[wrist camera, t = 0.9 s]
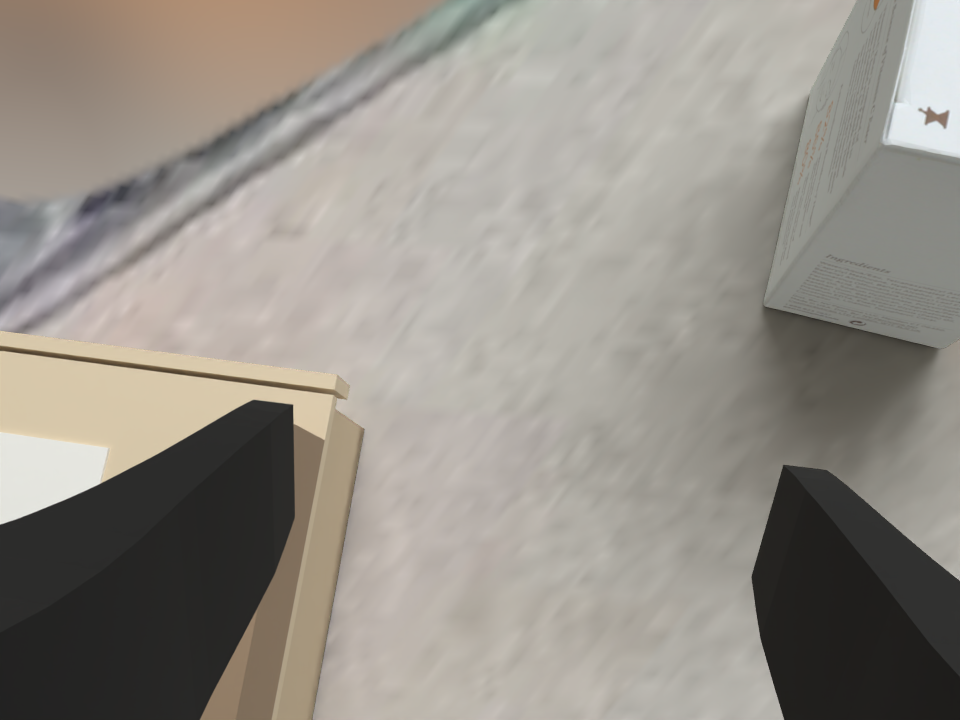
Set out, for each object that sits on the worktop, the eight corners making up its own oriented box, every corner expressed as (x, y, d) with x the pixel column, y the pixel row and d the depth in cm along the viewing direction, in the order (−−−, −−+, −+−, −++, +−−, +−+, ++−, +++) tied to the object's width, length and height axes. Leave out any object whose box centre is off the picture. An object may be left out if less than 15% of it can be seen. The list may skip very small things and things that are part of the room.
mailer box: (303, 768, 25) (255, 806, 21) (-131, 685, 26) (-250, 707, 22) (364, 429, 27) (331, 406, 23) (-40, 373, 28) (-134, 343, 25)
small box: (941, 354, 26) (1192, 216, 16) (755, 309, 27) (878, 150, 16) (984, 121, 27) (1236, -142, 17) (808, 86, 28) (949, -186, 18)
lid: (266, 832, 21) (201, 892, 17) (-242, 731, 23) (-404, 764, 19) (349, 385, 24) (309, 350, 20) (-114, 324, 25) (-235, 281, 22)
